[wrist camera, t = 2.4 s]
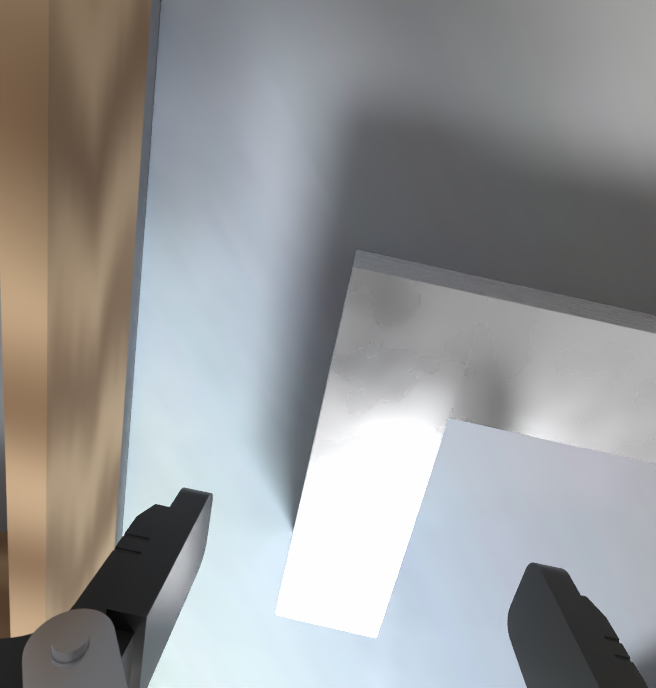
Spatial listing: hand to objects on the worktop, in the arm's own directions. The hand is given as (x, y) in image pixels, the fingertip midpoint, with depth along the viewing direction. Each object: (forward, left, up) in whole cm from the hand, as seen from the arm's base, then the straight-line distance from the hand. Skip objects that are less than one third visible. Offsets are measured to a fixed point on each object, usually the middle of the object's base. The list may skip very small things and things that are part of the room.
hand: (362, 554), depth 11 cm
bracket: (-1, +4, -6) cm, 8 cm away
